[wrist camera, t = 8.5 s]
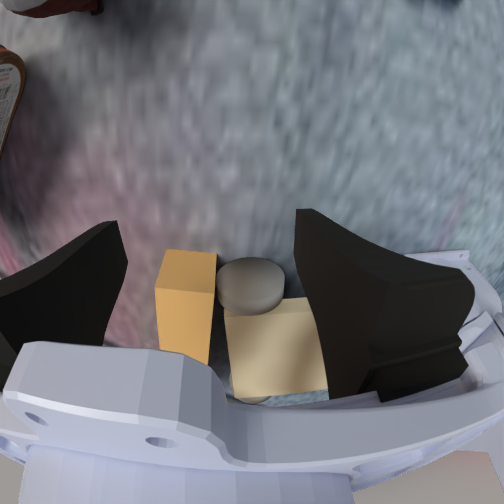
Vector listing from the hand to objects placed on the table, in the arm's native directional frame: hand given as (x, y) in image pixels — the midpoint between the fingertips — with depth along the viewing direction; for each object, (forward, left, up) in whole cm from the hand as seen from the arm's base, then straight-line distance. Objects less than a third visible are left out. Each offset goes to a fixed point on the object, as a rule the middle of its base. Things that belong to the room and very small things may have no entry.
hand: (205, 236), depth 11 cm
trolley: (-7, +15, -9) cm, 19 cm away
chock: (+4, +15, -10) cm, 18 cm away
